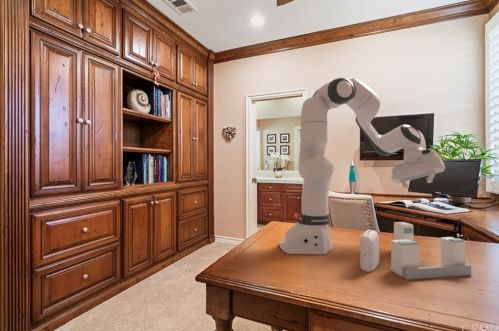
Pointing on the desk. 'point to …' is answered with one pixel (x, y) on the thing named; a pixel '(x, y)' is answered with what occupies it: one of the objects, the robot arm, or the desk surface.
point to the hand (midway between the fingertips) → (417, 184)
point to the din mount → (408, 266)
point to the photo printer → (369, 250)
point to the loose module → (403, 231)
